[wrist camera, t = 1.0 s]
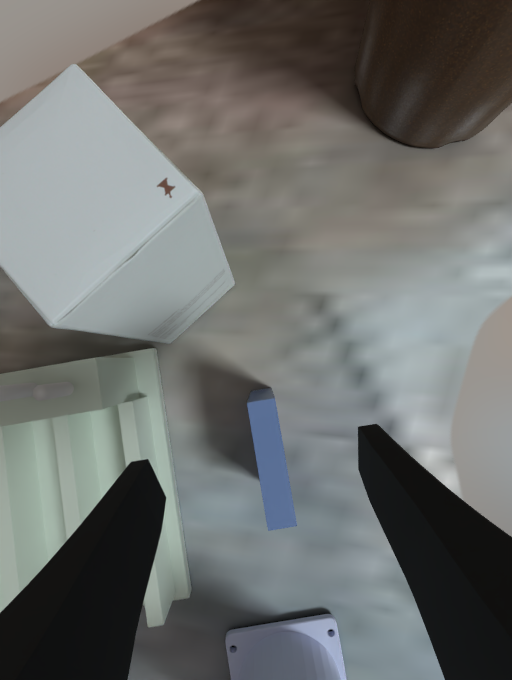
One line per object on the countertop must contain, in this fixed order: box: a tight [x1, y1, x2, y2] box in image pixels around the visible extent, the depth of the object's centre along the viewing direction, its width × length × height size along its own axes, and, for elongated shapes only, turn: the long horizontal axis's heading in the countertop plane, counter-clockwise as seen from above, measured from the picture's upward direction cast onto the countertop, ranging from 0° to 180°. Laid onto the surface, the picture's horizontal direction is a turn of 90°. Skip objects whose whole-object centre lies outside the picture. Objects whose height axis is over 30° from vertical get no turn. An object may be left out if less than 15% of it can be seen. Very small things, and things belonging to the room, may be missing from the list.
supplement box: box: [0, 64, 235, 344], centre depth 17 cm, size 7×7×13 cm
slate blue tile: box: [247, 388, 297, 531], centre depth 19 cm, size 7×2×6 cm, turn 10°
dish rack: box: [0, 348, 192, 628], centre depth 18 cm, size 18×16×8 cm
